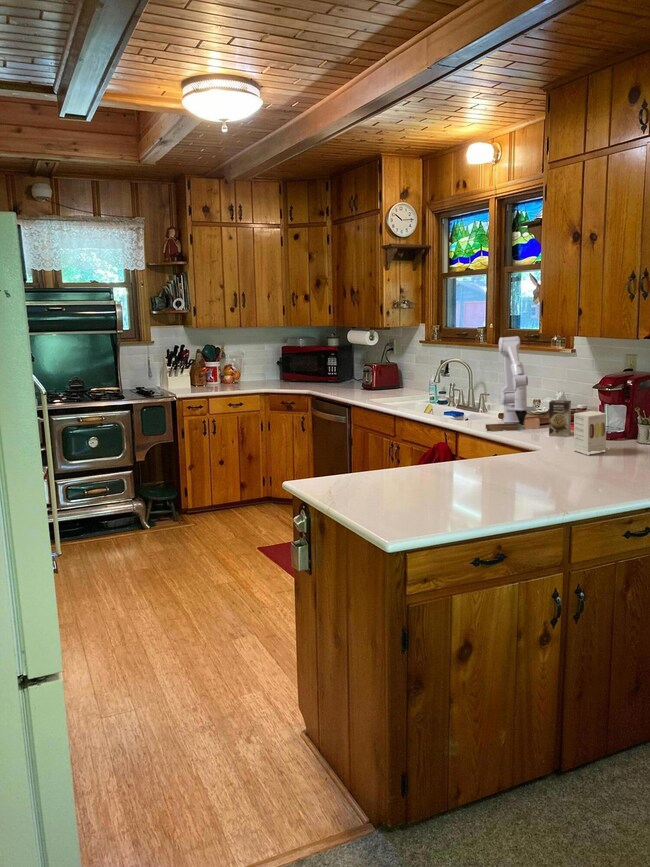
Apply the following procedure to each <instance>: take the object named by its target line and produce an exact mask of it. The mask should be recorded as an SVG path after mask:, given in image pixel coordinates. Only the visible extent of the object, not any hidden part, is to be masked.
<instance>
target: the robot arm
mask: <svg viewBox="0 0 650 867" xmlns="http://www.w3.org/2000/svg"><path fill="white" fill-rule="evenodd" d="M520 347H521V339H520V337H519V336H518V335H515V336H506V337H499V340H498V351H499V354H501V355H502V357H503V370H504V371H503V372H504V379H505V382H504V383H505V386H503V387H502V388H501V389H500V395H499V396H500V397H499V399H500V403H501V404H502V405H503V418H502V421H503V424H505V423H517V422H519V424H521V425H522V427H524V419H526V417H527V413H528V412H537V406H528V402H527V394H528V393H527V387H528V385H529V378H528V375H527V374H526V372H525V370H524V366H523V363H522V362H520V357H519V350H520ZM518 420H519V421H518Z"/></svg>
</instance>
